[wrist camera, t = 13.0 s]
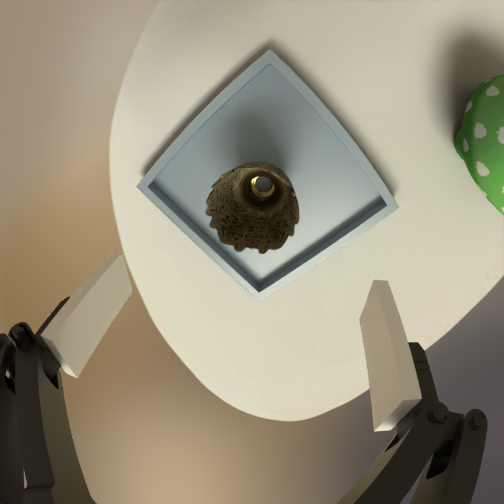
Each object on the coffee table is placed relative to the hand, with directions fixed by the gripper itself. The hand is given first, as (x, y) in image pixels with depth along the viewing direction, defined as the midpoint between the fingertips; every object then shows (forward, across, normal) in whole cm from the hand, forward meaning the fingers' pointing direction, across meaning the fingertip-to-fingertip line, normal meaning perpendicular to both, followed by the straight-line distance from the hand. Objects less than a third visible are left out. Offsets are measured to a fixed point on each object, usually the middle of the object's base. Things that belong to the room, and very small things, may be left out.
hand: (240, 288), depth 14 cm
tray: (+18, 0, -1) cm, 18 cm away
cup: (+17, -1, 0) cm, 17 cm away
